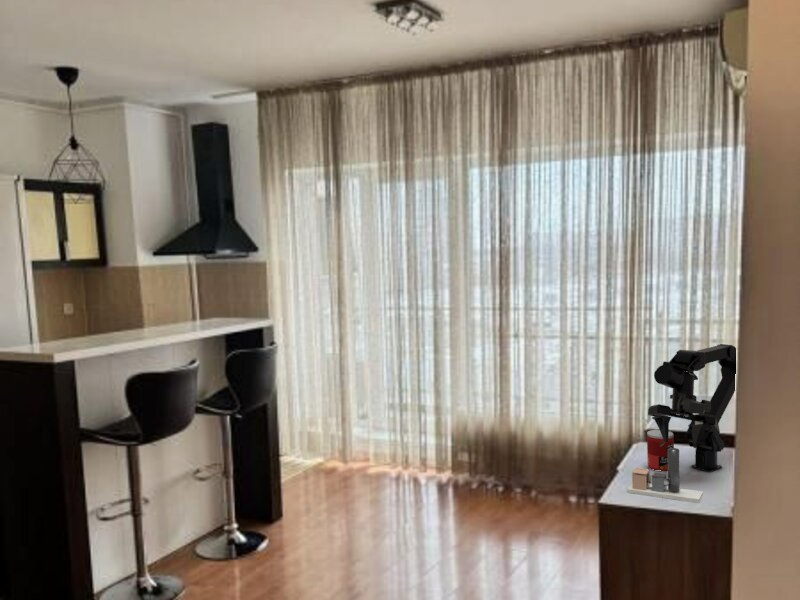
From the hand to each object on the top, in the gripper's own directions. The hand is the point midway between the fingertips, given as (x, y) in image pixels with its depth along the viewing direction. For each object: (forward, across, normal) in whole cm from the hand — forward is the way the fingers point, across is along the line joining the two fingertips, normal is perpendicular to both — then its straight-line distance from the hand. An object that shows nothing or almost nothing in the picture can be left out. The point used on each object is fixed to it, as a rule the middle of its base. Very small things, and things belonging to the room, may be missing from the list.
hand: (680, 445), depth 203 cm
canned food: (+6, +4, +17) cm, 19 cm away
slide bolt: (+13, -7, -1) cm, 15 cm away
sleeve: (+14, -6, -1) cm, 15 cm away
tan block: (+14, -10, +2) cm, 17 cm away
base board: (+15, -5, -1) cm, 15 cm away
